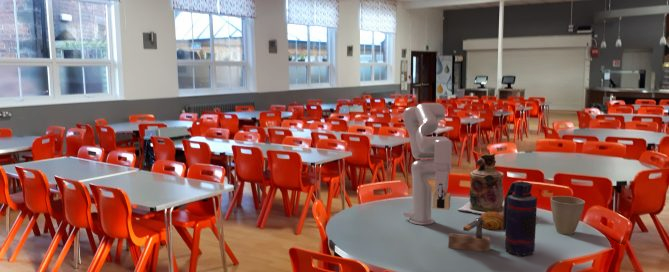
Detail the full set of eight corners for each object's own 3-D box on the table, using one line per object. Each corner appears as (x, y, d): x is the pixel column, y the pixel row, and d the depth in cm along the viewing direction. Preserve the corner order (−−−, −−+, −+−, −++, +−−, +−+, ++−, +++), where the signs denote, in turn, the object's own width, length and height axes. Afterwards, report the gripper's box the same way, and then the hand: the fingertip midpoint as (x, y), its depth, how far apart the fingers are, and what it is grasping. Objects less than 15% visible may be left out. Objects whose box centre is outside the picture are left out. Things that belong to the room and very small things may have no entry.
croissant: (475, 232, 258) (474, 216, 257) (483, 219, 272) (482, 205, 270) (505, 235, 251) (505, 220, 249) (512, 223, 264) (511, 208, 263)
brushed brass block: (432, 208, 235) (433, 195, 234) (434, 205, 241) (434, 192, 240) (448, 209, 233) (449, 196, 232) (450, 206, 238) (450, 193, 238)
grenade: (540, 253, 222) (544, 183, 218) (522, 259, 216) (525, 187, 212) (513, 244, 234) (516, 178, 230) (495, 249, 227) (497, 181, 223)
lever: (469, 231, 214) (469, 227, 214) (462, 230, 216) (462, 226, 216) (484, 222, 226) (484, 219, 226) (477, 221, 228) (477, 217, 228)
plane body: (448, 247, 229) (449, 222, 228) (449, 243, 234) (450, 219, 233) (489, 251, 224) (490, 226, 222) (489, 248, 229) (490, 223, 227)
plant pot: (549, 235, 246) (551, 202, 244) (548, 226, 260) (549, 194, 258) (584, 238, 241) (586, 205, 239) (581, 229, 255) (583, 197, 253)
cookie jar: (472, 202, 307) (474, 148, 303) (515, 208, 293) (517, 151, 289) (455, 211, 287) (457, 153, 283) (500, 218, 273) (503, 158, 269)
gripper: (436, 163, 244) (435, 201, 246) (431, 169, 227) (430, 210, 230) (453, 163, 241) (452, 202, 243) (448, 170, 225) (447, 211, 227)
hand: (441, 205), depth 237 cm, fingers closed on brushed brass block, 6 cm apart
